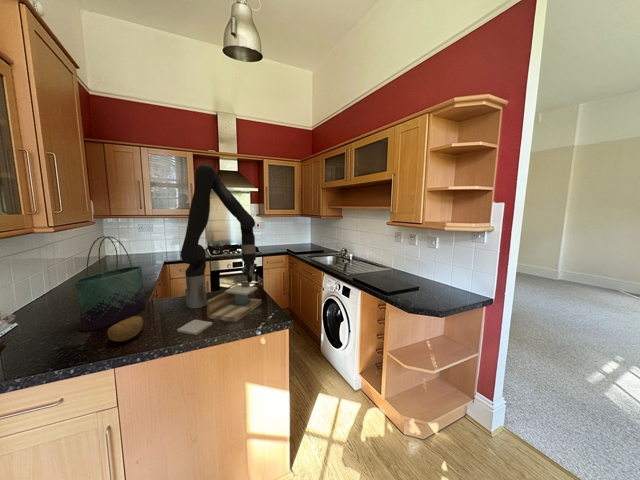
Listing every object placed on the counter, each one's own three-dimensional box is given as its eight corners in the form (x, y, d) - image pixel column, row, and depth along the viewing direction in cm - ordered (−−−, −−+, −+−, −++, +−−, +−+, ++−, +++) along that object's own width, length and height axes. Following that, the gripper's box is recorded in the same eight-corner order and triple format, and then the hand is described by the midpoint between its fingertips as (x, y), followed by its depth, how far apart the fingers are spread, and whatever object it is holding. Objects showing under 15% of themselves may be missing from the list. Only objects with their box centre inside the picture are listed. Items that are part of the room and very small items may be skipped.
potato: (152, 330, 111) (150, 313, 110) (124, 348, 97) (122, 328, 96) (131, 329, 112) (129, 311, 111) (101, 346, 98) (98, 327, 97)
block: (235, 307, 135) (234, 293, 134) (240, 304, 140) (240, 290, 139) (243, 308, 134) (242, 294, 133) (248, 305, 138) (248, 291, 137)
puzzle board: (207, 317, 123) (206, 301, 122) (237, 300, 146) (236, 285, 145) (235, 322, 118) (235, 305, 117) (261, 303, 141) (261, 288, 140)
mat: (177, 331, 110) (177, 329, 110) (194, 321, 119) (194, 319, 119) (196, 335, 107) (195, 332, 107) (212, 324, 116) (212, 322, 116)
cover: (225, 292, 133) (224, 286, 132) (236, 286, 142) (236, 280, 142) (246, 295, 129) (246, 288, 129) (257, 289, 138) (256, 283, 138)
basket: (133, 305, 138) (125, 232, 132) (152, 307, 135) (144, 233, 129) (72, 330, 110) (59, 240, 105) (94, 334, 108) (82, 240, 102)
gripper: (249, 249, 148) (250, 278, 151) (235, 253, 136) (237, 285, 138) (260, 250, 146) (261, 279, 149) (248, 254, 134) (249, 286, 136)
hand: (249, 282), depth 143 cm, fingers closed
